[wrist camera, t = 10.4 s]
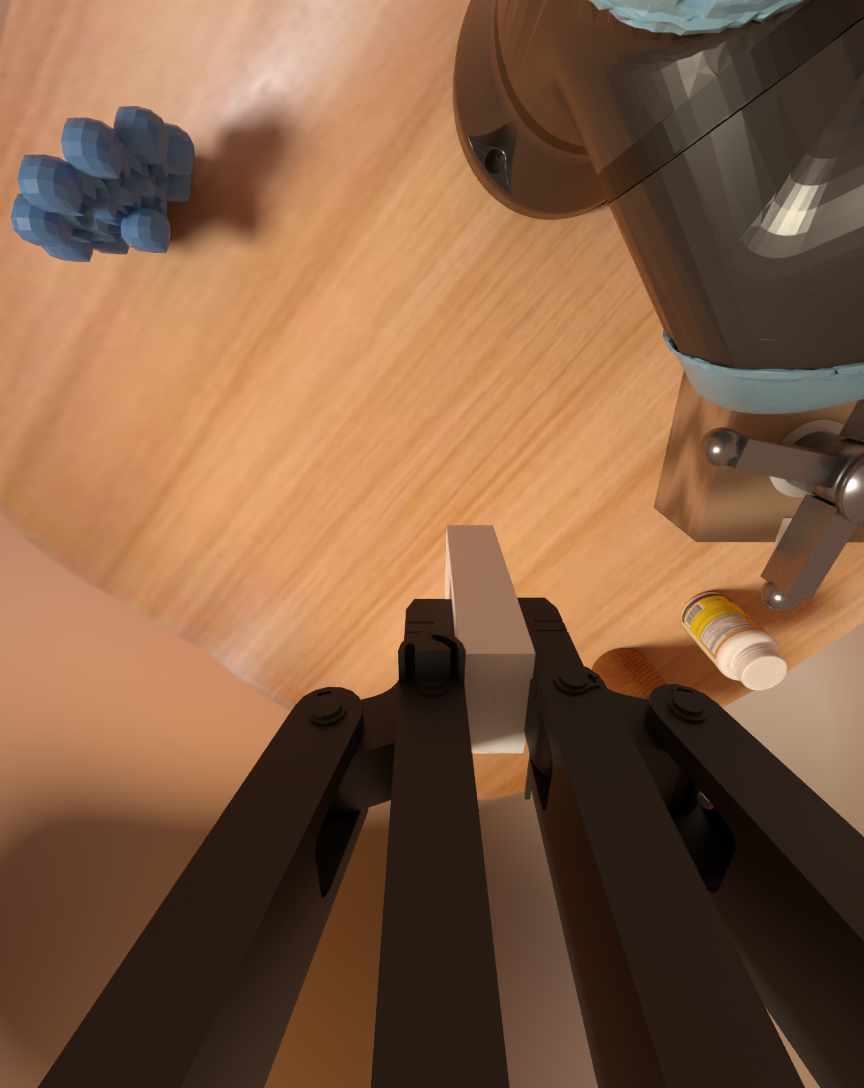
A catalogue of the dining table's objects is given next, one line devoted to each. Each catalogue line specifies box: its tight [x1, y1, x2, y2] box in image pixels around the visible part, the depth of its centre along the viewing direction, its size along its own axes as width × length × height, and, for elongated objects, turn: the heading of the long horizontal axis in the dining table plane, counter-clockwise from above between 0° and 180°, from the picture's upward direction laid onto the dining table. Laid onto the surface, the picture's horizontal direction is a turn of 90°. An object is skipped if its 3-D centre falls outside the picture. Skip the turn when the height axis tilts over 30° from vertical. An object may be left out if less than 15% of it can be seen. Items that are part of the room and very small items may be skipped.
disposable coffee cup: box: [592, 648, 668, 700], centre depth 49 cm, size 10×10×12 cm
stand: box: [654, 371, 864, 545], centre depth 40 cm, size 16×14×8 cm
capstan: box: [698, 399, 864, 611], centre depth 33 cm, size 22×22×7 cm
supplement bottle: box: [681, 592, 787, 690], centre depth 47 cm, size 6×6×10 cm
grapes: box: [11, 106, 195, 262], centre depth 31 cm, size 12×7×12 cm, turn 127°
